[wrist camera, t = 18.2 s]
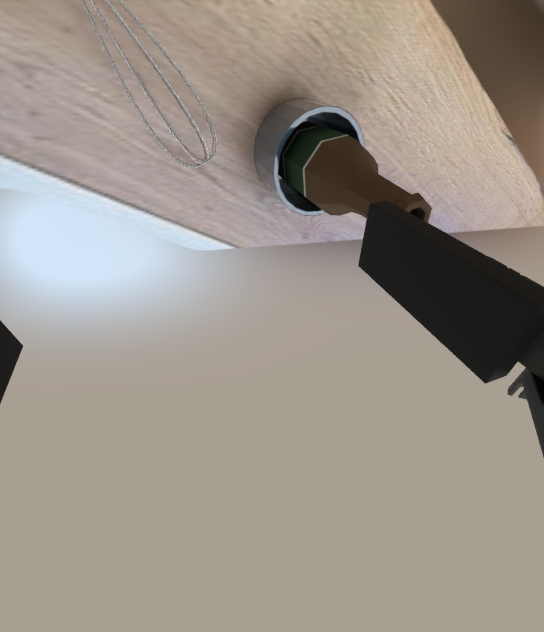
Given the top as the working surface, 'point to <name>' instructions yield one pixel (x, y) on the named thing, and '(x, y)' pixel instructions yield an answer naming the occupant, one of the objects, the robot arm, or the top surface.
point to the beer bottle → (340, 173)
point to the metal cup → (278, 131)
